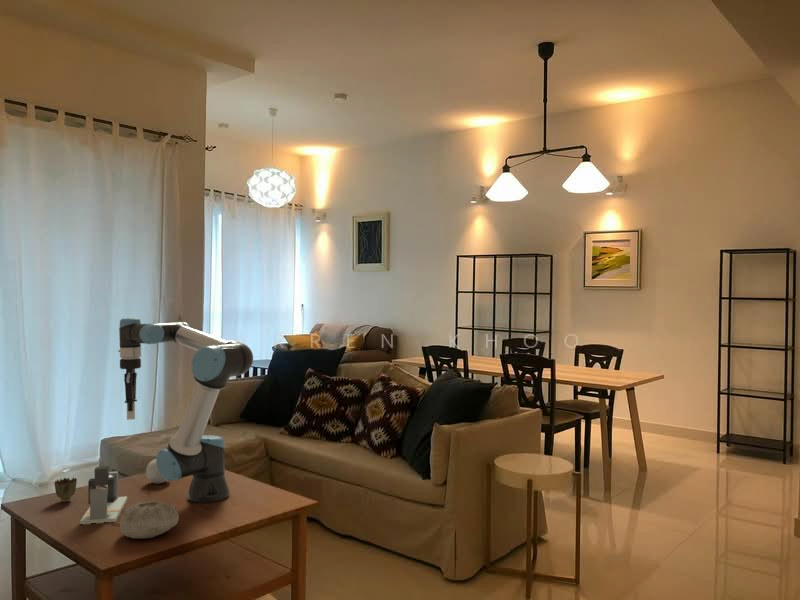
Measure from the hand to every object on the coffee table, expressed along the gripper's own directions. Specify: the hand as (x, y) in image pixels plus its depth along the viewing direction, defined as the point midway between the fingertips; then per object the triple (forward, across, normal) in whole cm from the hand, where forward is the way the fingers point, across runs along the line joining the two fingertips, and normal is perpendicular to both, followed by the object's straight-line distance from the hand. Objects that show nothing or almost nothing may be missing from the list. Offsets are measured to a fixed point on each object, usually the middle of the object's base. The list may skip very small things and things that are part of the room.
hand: (131, 419), depth 248 cm
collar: (+24, +24, -6) cm, 34 cm away
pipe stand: (+29, +19, -6) cm, 35 cm away
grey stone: (+30, +45, +12) cm, 55 cm away
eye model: (+29, -13, +8) cm, 33 cm away
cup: (+29, +4, -22) cm, 37 cm away
